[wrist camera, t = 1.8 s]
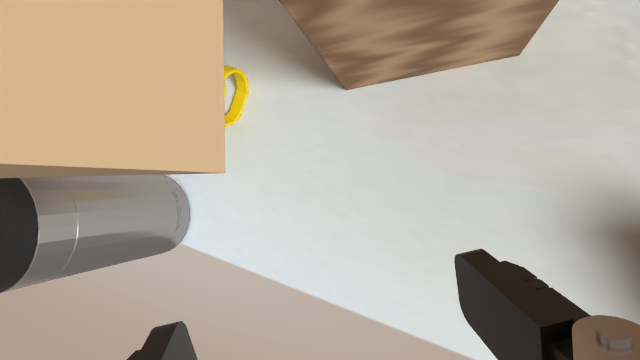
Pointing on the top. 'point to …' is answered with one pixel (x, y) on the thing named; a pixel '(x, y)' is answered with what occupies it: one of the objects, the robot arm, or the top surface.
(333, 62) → the stand
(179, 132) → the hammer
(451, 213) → the top surface
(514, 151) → the top surface
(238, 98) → the watch
